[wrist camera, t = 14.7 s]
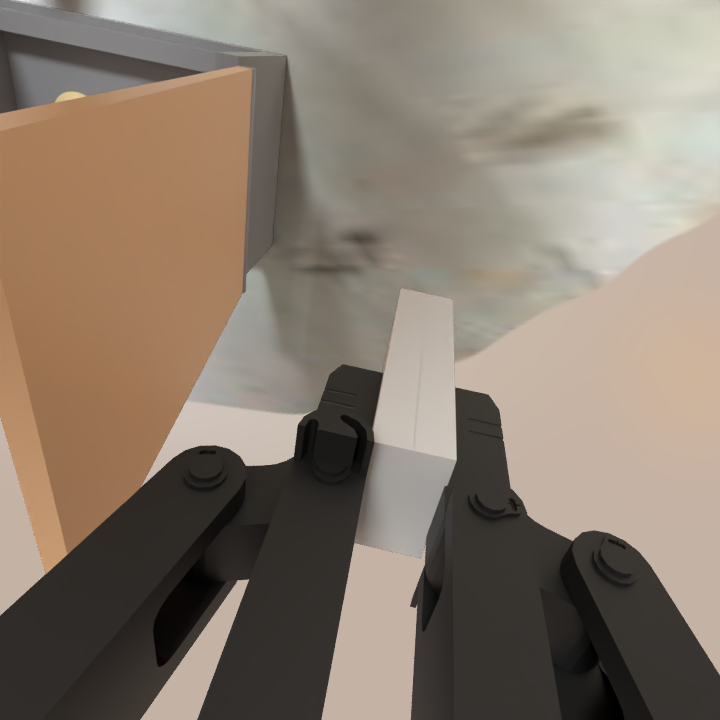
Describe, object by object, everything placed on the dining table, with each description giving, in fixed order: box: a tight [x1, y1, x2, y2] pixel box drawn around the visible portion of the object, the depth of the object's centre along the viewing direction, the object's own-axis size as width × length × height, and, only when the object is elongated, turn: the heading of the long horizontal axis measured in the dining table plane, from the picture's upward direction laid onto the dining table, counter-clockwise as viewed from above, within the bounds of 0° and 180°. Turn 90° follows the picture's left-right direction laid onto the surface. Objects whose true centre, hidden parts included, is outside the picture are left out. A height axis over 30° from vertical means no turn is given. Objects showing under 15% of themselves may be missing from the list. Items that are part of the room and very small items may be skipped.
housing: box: [0, 0, 287, 274], centre depth 28 cm, size 11×17×8 cm, turn 80°
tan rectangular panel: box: [0, 65, 256, 574], centre depth 17 cm, size 10×18×1 cm
